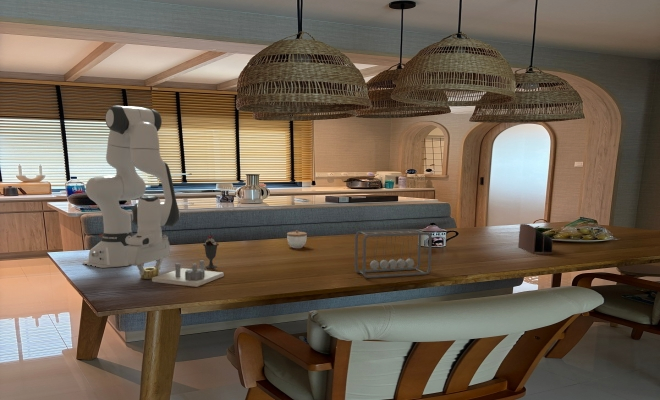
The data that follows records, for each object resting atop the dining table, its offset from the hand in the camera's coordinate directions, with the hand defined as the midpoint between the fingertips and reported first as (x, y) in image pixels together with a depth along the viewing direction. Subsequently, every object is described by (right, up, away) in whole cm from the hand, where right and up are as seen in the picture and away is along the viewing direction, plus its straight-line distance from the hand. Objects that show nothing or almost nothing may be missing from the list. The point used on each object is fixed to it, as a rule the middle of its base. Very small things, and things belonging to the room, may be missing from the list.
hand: (150, 272), depth 190 cm
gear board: (+16, -2, -1) cm, 16 cm away
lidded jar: (+53, +3, +72) cm, 89 cm away
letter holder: (+179, +1, +69) cm, 192 cm away
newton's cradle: (+96, -3, +12) cm, 97 cm away
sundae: (+19, -1, +20) cm, 28 cm away
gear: (0, -2, 0) cm, 2 cm away
